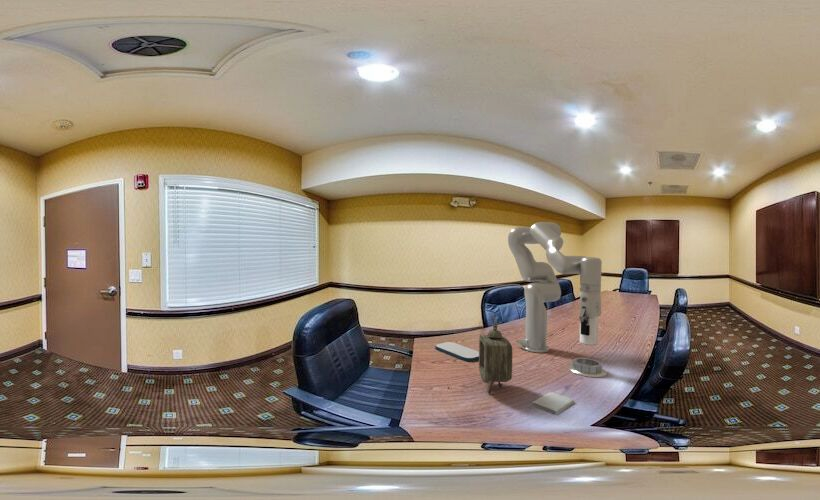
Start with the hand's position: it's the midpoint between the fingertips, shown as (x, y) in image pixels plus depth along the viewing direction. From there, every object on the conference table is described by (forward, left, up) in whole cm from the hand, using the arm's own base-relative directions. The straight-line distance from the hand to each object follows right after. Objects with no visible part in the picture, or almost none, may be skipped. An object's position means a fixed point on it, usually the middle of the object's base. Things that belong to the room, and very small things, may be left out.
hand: (588, 332), depth 148 cm
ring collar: (0, 0, -15) cm, 15 cm away
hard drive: (-23, -31, -16) cm, 42 cm away
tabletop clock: (-40, -20, -16) cm, 47 cm away
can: (0, 0, -4) cm, 4 cm away
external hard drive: (-50, +17, -16) cm, 55 cm away
